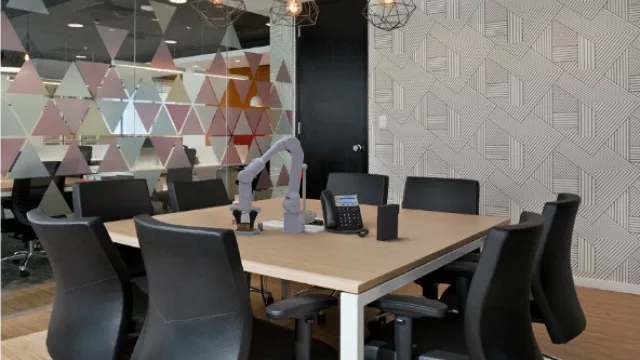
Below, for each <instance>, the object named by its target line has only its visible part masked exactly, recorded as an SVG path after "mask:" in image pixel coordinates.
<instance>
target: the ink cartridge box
mask: <svg viewBox="0 0 640 360" xmlns="http://www.w3.org/2000/svg"><path fill="white" fill-rule="evenodd" d="M231 204H232V205H231V206H239V194H235V195H234V201H232V203H231ZM232 212H233V211H231V225H236V226H237V223H236V220H235V217H234V215H233V214H232ZM249 213H250V212H249V211H242V214H241V223H242V222H247V223H250V218H249Z"/></svg>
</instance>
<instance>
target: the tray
mask: <svg viewBox="0 0 640 360" xmlns="http://www.w3.org/2000/svg"><path fill="white" fill-rule="evenodd" d="M234 230H235V232H236V234H235V235H239V236H253V235H256V234H258V233H260V232H261V231H260V229H258V228H255V227H254V230H251V231H249V232H247V231H237V228H236V229H234Z"/></svg>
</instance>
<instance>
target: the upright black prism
mask: <svg viewBox="0 0 640 360" xmlns="http://www.w3.org/2000/svg"><path fill="white" fill-rule="evenodd" d="M376 209H377V211H376V213H377V215H376V241H380V242H383V241H384V242H386V241H391V240H394V239H398V238H399V214H400V204H399V203H387V204H386V203H385V204H381V205H379V204H378V205H377V208H376Z"/></svg>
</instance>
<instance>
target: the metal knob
mask: <svg viewBox="0 0 640 360" xmlns="http://www.w3.org/2000/svg"><path fill="white" fill-rule="evenodd" d="M263 225H264V223H263V222H257V229H260V232H265V231H267V229H263V228H264V226H263Z"/></svg>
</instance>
